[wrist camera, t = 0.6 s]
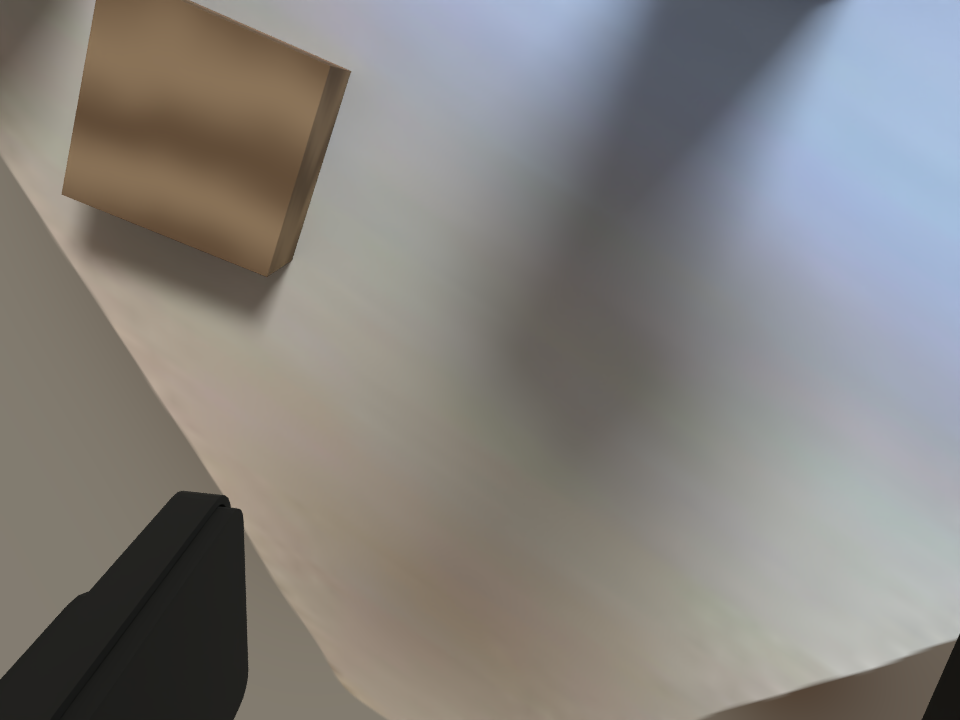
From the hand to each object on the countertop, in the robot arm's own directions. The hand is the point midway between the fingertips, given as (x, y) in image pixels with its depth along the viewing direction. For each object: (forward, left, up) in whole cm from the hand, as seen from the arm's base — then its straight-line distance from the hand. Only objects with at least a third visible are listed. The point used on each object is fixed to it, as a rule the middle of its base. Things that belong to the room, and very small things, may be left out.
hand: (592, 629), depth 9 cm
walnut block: (+2, -19, -35) cm, 40 cm away
